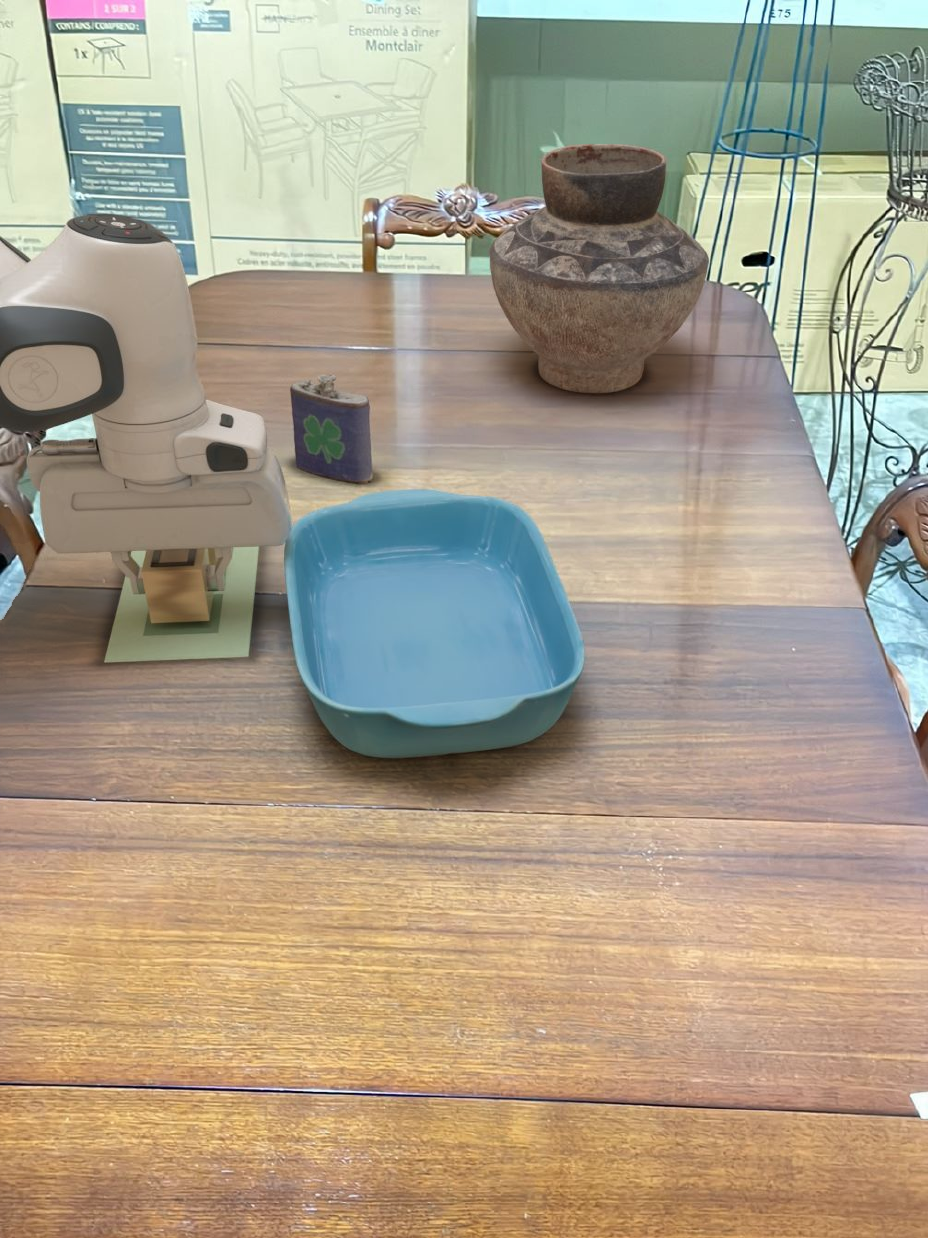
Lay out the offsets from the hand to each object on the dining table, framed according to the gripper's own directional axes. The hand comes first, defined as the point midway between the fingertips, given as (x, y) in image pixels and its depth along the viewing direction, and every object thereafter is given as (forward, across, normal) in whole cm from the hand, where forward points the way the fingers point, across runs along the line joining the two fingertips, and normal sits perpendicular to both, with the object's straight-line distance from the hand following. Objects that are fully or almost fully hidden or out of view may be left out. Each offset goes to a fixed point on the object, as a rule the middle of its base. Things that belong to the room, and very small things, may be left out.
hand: (180, 589), depth 108 cm
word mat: (+3, 0, +4) cm, 5 cm away
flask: (+3, +13, +27) cm, 30 cm away
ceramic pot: (+3, +44, +52) cm, 68 cm away
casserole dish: (+3, +21, -8) cm, 23 cm away
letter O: (+2, 0, 0) cm, 2 cm away
